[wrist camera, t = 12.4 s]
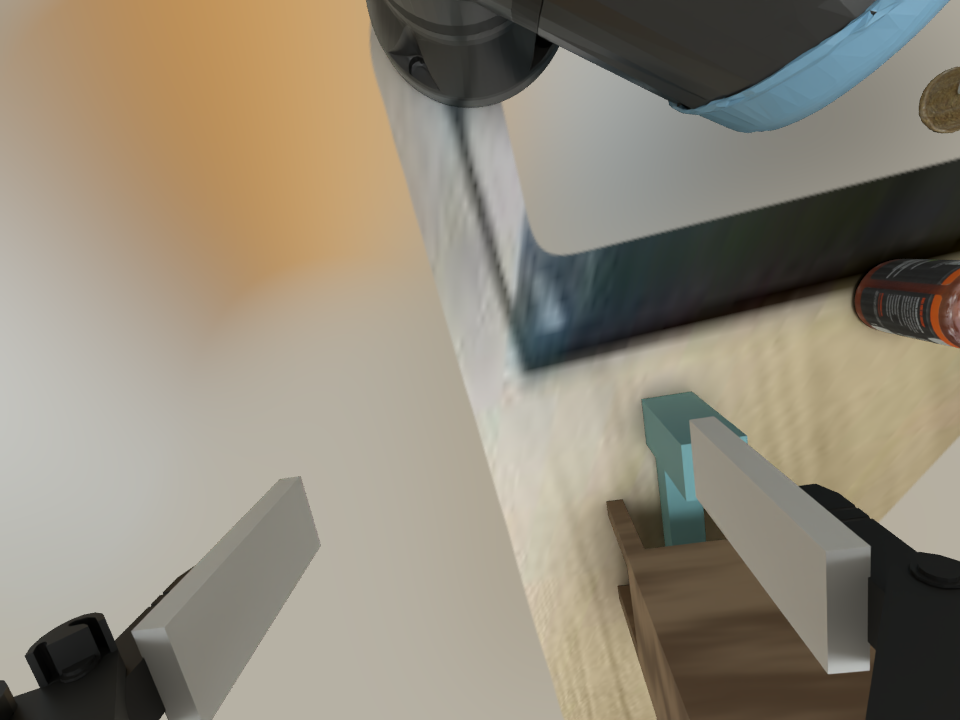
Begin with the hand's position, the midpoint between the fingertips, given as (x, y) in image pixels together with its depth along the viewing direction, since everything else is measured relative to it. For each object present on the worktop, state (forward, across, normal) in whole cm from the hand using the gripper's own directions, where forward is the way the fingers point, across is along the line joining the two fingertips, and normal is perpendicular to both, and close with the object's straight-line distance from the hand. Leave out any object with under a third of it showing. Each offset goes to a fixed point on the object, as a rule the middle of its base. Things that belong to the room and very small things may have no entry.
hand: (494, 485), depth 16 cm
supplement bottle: (+27, +32, -2) cm, 42 cm away
